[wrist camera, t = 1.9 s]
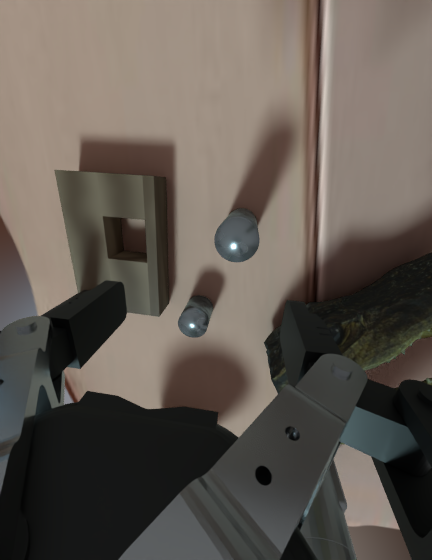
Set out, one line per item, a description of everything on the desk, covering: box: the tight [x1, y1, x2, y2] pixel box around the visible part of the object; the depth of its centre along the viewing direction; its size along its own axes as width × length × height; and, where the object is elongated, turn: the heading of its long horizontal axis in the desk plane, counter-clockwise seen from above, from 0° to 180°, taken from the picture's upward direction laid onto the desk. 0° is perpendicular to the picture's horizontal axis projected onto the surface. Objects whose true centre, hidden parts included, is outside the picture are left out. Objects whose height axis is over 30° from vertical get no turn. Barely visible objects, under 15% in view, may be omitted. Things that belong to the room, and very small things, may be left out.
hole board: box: [41, 170, 169, 317], centre depth 26 cm, size 12×18×14 cm, turn 177°
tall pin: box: [215, 208, 259, 262], centre depth 25 cm, size 4×4×10 cm
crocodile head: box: [264, 252, 432, 444], centre depth 27 cm, size 27×17×15 cm
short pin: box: [178, 295, 213, 337], centre depth 33 cm, size 4×4×5 cm
